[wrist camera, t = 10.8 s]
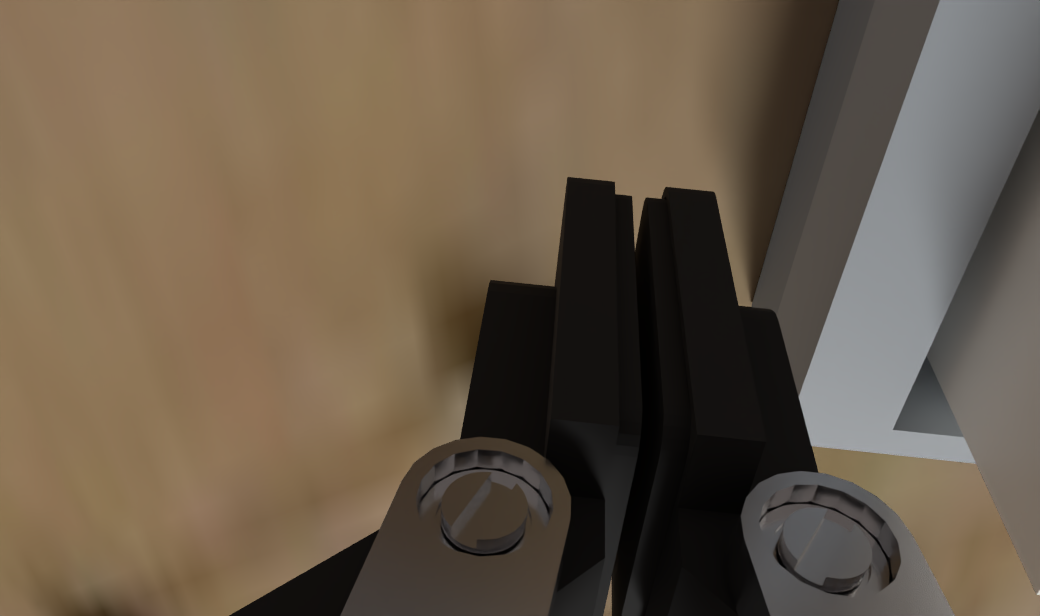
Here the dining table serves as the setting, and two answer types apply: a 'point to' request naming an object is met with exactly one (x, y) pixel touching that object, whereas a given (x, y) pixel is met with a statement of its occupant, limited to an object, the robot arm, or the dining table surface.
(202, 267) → the dining table surface
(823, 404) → the switch board
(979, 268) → the tab
